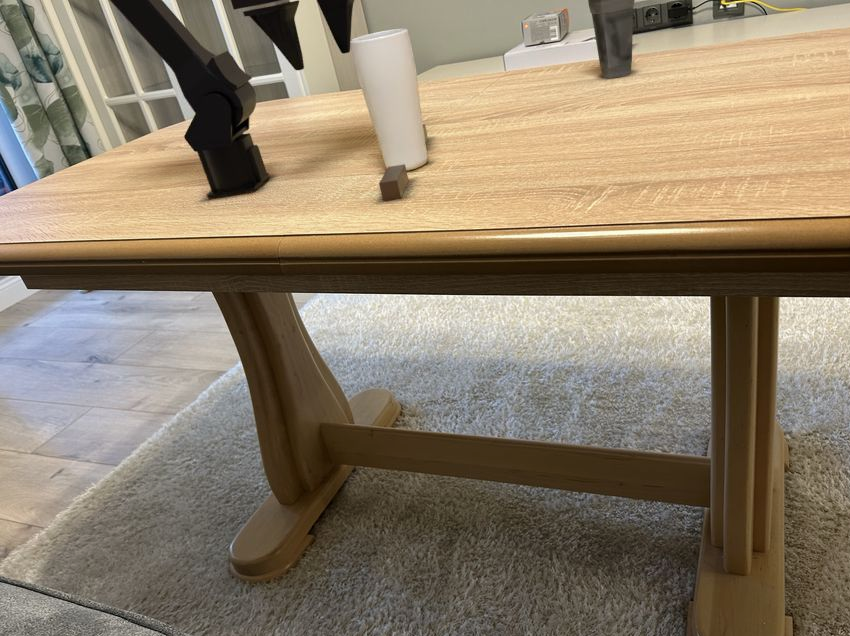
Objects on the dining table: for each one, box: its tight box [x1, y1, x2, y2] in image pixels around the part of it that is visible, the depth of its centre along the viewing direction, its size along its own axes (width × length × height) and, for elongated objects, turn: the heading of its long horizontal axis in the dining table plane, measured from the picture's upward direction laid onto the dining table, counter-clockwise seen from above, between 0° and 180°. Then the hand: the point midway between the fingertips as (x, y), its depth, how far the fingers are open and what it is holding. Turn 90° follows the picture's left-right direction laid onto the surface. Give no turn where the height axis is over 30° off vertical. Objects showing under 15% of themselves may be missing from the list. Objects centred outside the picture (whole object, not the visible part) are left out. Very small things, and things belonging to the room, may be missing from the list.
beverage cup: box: [587, 0, 635, 79], centre depth 107 cm, size 7×7×20 cm
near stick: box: [378, 164, 410, 201], centre depth 78 cm, size 6×2×2 cm, turn 176°
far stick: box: [423, 123, 429, 145], centre depth 94 cm, size 6×2×2 cm, turn 176°
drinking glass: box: [350, 27, 429, 172], centre depth 83 cm, size 7×7×15 cm
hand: (323, 61), depth 84 cm, fingers open, 9 cm apart
